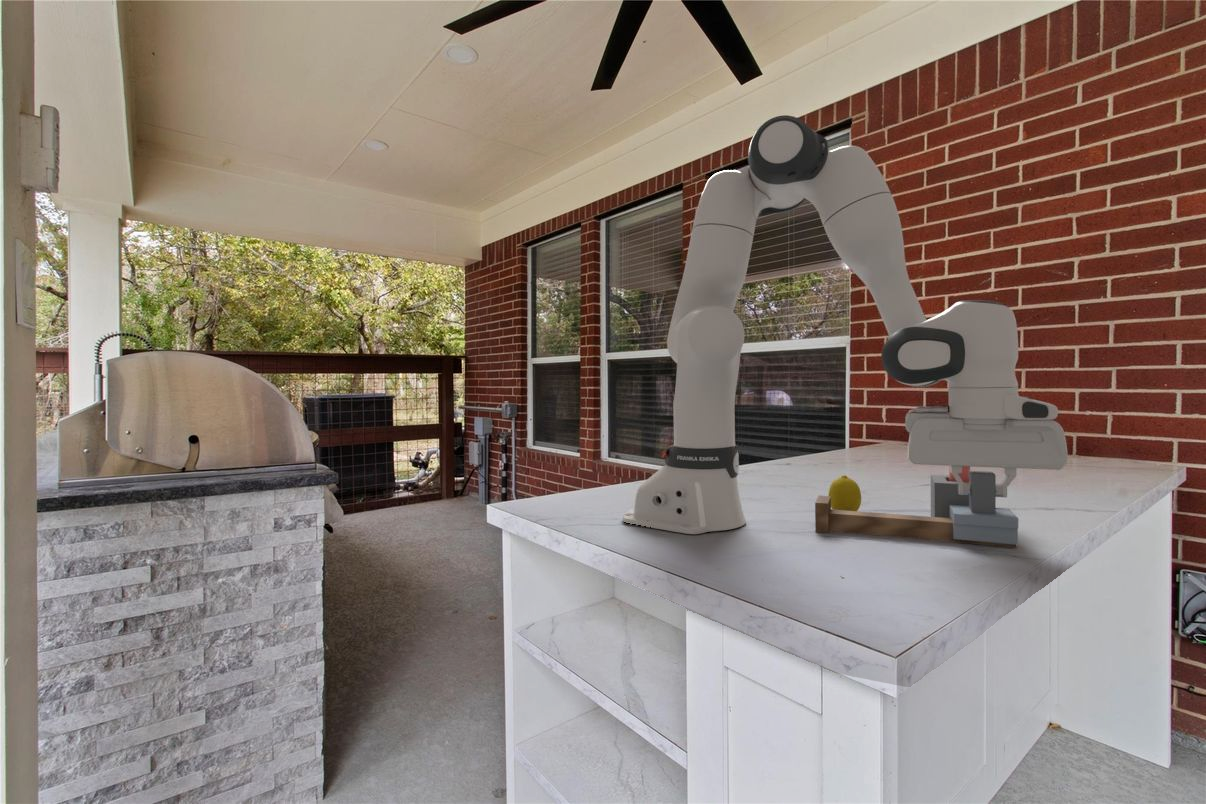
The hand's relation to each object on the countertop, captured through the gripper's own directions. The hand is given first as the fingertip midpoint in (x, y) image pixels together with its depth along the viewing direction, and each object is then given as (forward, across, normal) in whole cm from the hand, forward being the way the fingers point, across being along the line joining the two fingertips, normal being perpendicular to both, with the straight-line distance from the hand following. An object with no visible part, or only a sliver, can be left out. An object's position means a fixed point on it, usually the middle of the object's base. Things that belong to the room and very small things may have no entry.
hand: (982, 495), depth 86 cm
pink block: (+2, -2, +9) cm, 9 cm away
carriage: (+7, 0, 0) cm, 7 cm away
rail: (+7, -9, 0) cm, 12 cm away
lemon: (+8, -20, +8) cm, 23 cm away
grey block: (+7, -2, +9) cm, 12 cm away
